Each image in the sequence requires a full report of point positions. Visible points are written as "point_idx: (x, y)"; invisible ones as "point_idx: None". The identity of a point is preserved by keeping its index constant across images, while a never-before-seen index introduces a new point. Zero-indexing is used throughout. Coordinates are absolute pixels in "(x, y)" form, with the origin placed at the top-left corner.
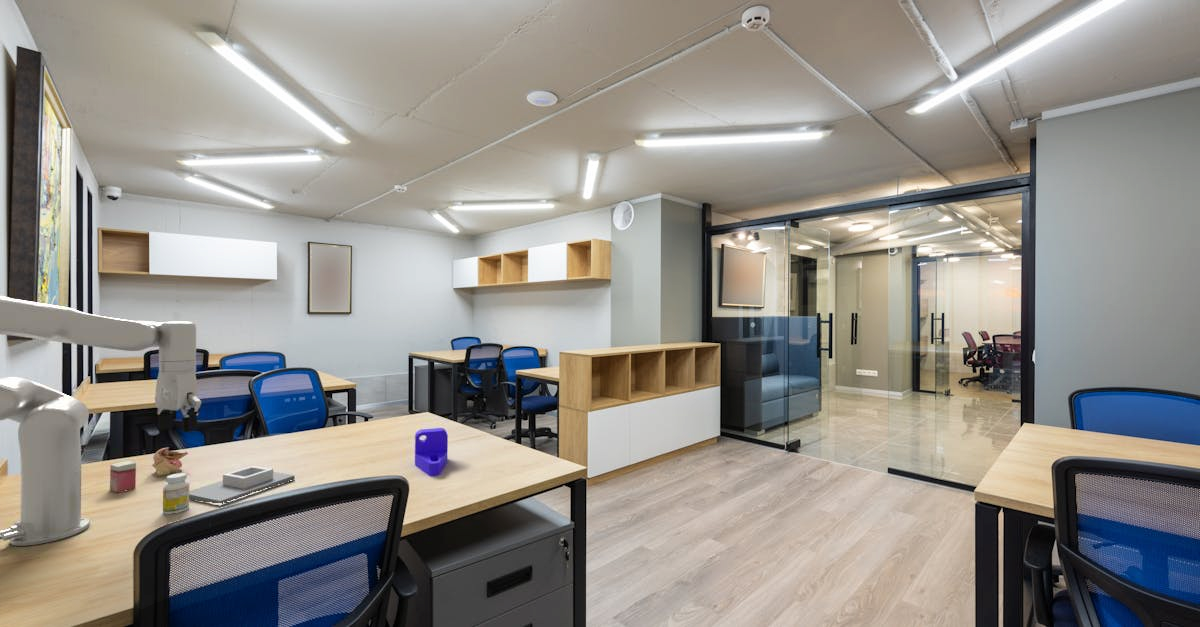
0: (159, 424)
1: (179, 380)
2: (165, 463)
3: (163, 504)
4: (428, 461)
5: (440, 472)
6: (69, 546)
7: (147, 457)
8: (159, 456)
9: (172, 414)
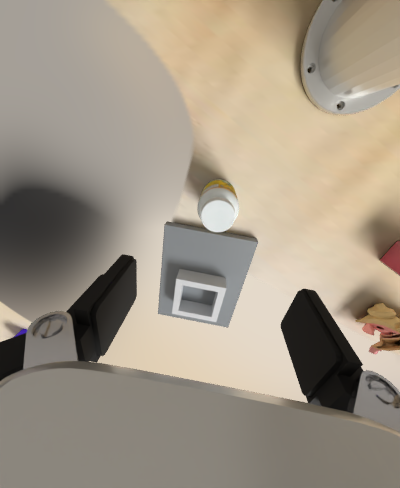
0: (315, 305)
1: None
2: (385, 322)
3: (226, 183)
4: None
5: None
6: (258, 4)
7: None
8: None
9: (302, 386)
